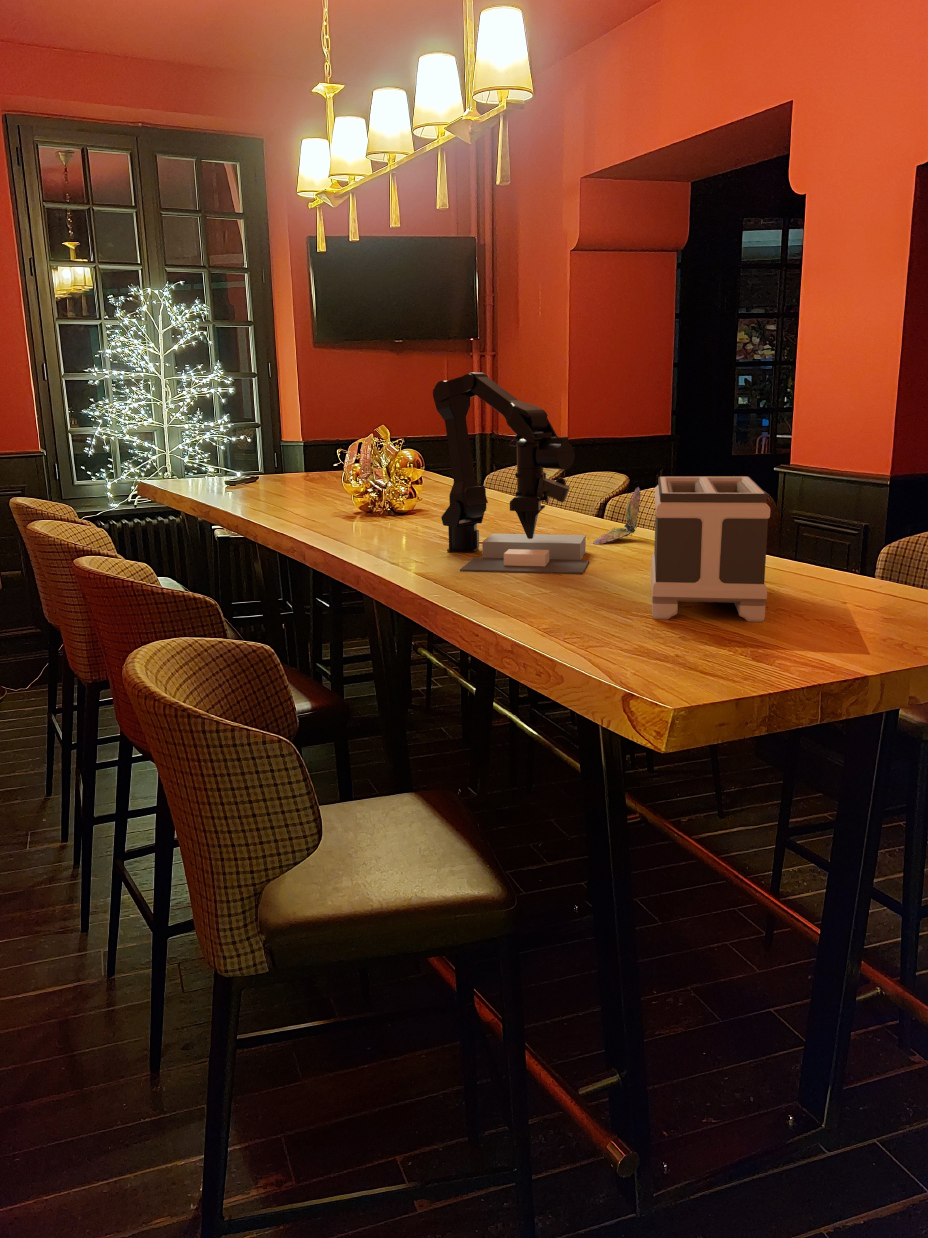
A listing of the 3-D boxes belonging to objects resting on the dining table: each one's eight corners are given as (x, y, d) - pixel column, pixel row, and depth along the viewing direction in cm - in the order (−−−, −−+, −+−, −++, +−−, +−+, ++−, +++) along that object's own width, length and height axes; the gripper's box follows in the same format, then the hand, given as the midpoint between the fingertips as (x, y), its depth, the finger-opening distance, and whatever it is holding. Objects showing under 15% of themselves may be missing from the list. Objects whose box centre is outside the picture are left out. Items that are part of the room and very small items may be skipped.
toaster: (745, 581, 188) (751, 473, 183) (766, 623, 155) (773, 494, 150) (650, 579, 191) (653, 473, 186) (651, 620, 159) (654, 494, 154)
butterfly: (649, 493, 241) (619, 474, 237) (665, 504, 232) (635, 484, 228) (610, 550, 245) (581, 532, 241) (626, 563, 236) (595, 545, 232)
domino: (508, 549, 211) (508, 560, 211) (503, 553, 205) (503, 565, 206) (549, 549, 209) (549, 561, 209) (545, 554, 203) (545, 566, 204)
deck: (482, 559, 216) (482, 541, 215) (492, 550, 227) (492, 533, 226) (580, 561, 211) (580, 543, 210) (585, 551, 222) (585, 534, 221)
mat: (459, 571, 203) (459, 569, 203) (473, 559, 216) (473, 557, 216) (582, 574, 197) (582, 572, 197) (589, 561, 210) (589, 560, 210)
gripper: (562, 471, 197) (561, 546, 201) (571, 463, 215) (571, 532, 218) (508, 471, 199) (509, 545, 203) (522, 463, 217) (523, 531, 221)
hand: (530, 538), depth 211 cm, fingers closed
